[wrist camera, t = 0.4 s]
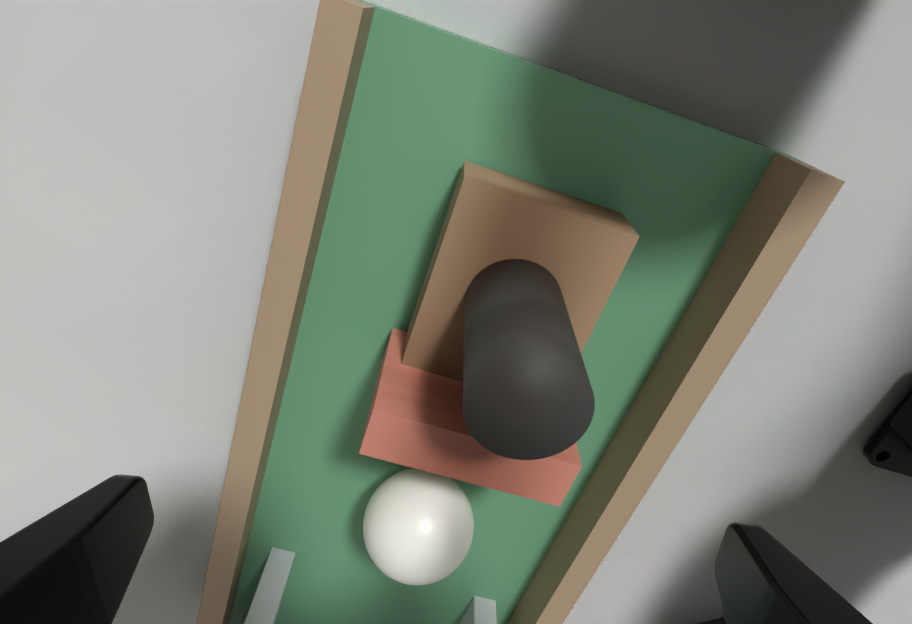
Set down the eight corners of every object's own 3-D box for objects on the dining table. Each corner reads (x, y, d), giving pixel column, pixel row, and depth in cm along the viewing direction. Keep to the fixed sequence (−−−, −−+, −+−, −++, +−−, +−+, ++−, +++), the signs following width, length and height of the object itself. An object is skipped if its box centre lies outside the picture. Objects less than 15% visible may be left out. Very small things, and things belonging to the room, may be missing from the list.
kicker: (638, 218, 18) (726, 332, 12) (542, 412, 21) (572, 580, 15) (448, 154, 17) (435, 240, 11) (380, 366, 21) (342, 522, 14)
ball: (488, 461, 23) (491, 545, 19) (455, 532, 25) (452, 621, 21) (386, 433, 22) (371, 515, 19) (360, 508, 24) (342, 595, 21)
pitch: (790, 155, 18) (892, 204, 14) (491, 666, 30) (495, 780, 26) (345, -6, 17) (299, -9, 12) (214, 604, 29) (167, 715, 24)
